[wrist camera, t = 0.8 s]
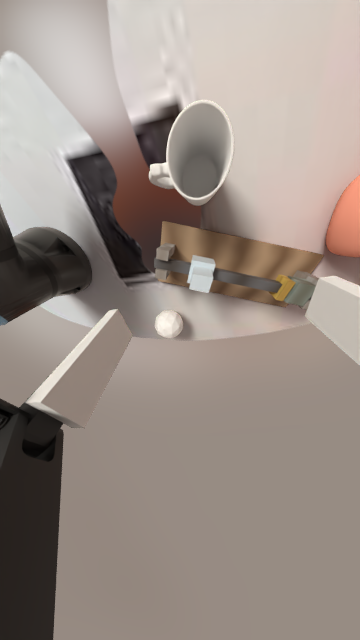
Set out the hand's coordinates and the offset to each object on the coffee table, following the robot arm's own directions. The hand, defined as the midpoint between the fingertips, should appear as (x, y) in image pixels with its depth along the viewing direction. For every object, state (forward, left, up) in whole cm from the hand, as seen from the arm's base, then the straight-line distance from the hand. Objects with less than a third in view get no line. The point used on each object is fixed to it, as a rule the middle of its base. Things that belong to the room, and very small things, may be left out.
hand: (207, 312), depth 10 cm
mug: (-5, +10, -25) cm, 27 cm away
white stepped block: (0, -2, -20) cm, 20 cm away
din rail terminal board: (+7, -2, -25) cm, 26 cm away
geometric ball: (-4, -19, -25) cm, 32 cm away
